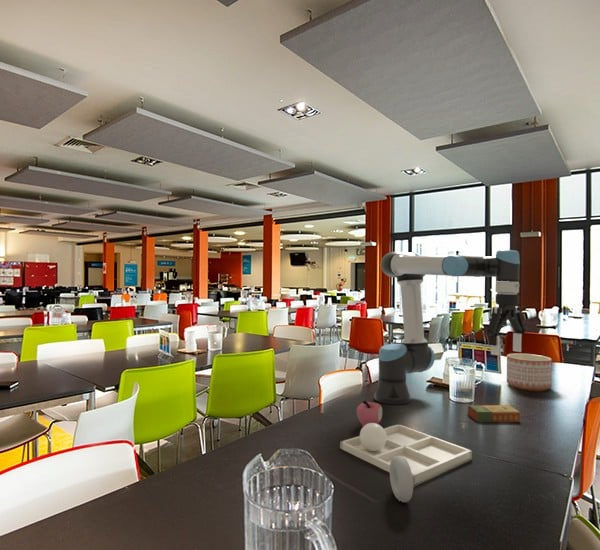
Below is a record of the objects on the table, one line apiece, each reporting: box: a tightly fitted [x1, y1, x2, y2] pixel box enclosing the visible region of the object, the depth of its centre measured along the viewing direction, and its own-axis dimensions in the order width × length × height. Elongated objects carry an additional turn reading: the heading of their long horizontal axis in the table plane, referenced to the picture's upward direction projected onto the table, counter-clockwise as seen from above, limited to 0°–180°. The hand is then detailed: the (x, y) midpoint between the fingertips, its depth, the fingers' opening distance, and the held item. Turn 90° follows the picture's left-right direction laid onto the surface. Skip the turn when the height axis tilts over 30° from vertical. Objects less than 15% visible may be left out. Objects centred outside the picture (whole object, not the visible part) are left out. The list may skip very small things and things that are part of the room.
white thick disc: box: [389, 455, 414, 503], centre depth 99 cm, size 10×4×10 cm, turn 5°
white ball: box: [359, 423, 387, 452], centre depth 125 cm, size 8×8×8 cm
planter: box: [506, 353, 553, 392], centre depth 205 cm, size 19×19×15 cm
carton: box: [467, 404, 521, 423], centre depth 158 cm, size 8×16×4 cm, turn 91°
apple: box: [356, 400, 383, 428], centre depth 145 cm, size 10×9×10 cm
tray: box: [339, 423, 473, 486], centre depth 124 cm, size 27×27×2 cm
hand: (506, 353), depth 149 cm, fingers open, 13 cm apart
